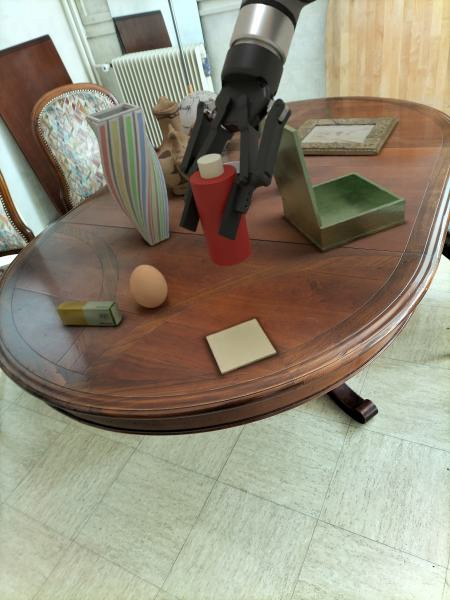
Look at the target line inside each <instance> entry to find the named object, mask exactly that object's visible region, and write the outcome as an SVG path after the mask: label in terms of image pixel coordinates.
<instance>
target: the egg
mask: <svg viewBox="0 0 450 600" xmlns="http://www.w3.org/2000/svg"><path fill="white" fill-rule="evenodd" d="M167 284H168V283H167V280H166V278H165V277H164V275H163V274H162V273H161V271H159V270H158V269H157V268H156V267H154V266H152V265H149V264H141V265H138V266H137V267H135V268H134V270H133V271H132V272H131V275H130V280H129V289H130V294H131V296H132V297H133V299H134V301H135V302H136V303H137V304H138V305H140V306H142V307H144V308H148V309H154V308H157V307H159V306H161V305H162V304H163V303H164V302H165V301H166V298H167V295H168V285H167Z"/></svg>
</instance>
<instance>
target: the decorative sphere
mask: <svg viewBox="0 0 450 600" xmlns="http://www.w3.org/2000/svg"><path fill="white" fill-rule="evenodd" d="M218 94H219V93H218ZM218 94H217V92H214V91H211V90H205V89H204V90H203V89H202V90H201V89H200V90H195V91H193V92H190V93H187V95H185V96H184V97H183V98H182V99H181V100H179V101H180V102H179V103H178V107H179V114H180V118H181V122H182V126H183V129H184V132H185V134H186V135H188V134H189V132H190V127H191V125H192V124H193V123H195V121H196V115H197V105H198V103H199V102H200V101H203V102H204V103H206V104H208V103H211V102H214V101H215V99H216V97H217V96H218ZM221 126H222V125H221ZM222 128H224V127H223V126H222ZM224 129H225V130H226V128H224ZM229 142H230V140H228V141H227V143H226V145H225V146H224V148H225V147H226V146H227V145H228V144H229Z"/></svg>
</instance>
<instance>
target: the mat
mask: <svg viewBox="0 0 450 600" xmlns="http://www.w3.org/2000/svg"><path fill="white" fill-rule="evenodd" d="M205 339H206V341H207V343H208V345H209V347H210V350H211V352H212V355H213V356H214V359H215V361H216V363H217V367H218V368H219V370H220V373H221V375H225V374H227V373H230V372H232V371H235V370H238V369H240V368H243V367H245V366H248V365H250V364H253V363H255V362H258V361H261V360H263V359H266V358H269V357H271V356H274V355H276V354H277V351H276V350H275V348H274V346H273V344H272V343H271V342H270V339H269V338H268V336H267V335H266V333H265V332H264V330H263V329H262V326H261V325H260V323H259V321H258V320H257V319H256V318H253V319H250V320H248V321H245V322H242V323H239V324H237V325H234V326H232V327H229V328H225V329H223V330H221V331H218V332H216V333H213V334H209V335H207V336H205Z"/></svg>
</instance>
